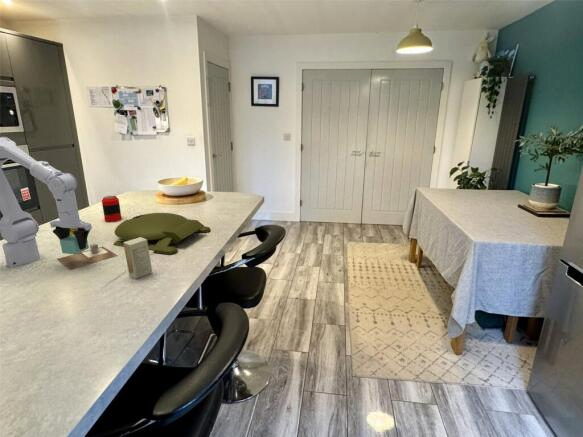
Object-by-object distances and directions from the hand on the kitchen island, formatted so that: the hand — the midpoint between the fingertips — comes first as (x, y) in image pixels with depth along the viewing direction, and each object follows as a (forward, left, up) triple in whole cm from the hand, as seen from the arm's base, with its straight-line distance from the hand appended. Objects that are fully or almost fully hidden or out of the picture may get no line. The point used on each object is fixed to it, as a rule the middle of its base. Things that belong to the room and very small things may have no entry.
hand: (75, 247), depth 118 cm
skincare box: (+11, -23, -7) cm, 27 cm away
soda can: (+31, +46, -7) cm, 56 cm away
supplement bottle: (+10, +34, -7) cm, 36 cm away
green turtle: (+33, +5, -8) cm, 35 cm away
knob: (0, 0, -1) cm, 1 cm away
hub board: (+4, +3, -7) cm, 8 cm away
